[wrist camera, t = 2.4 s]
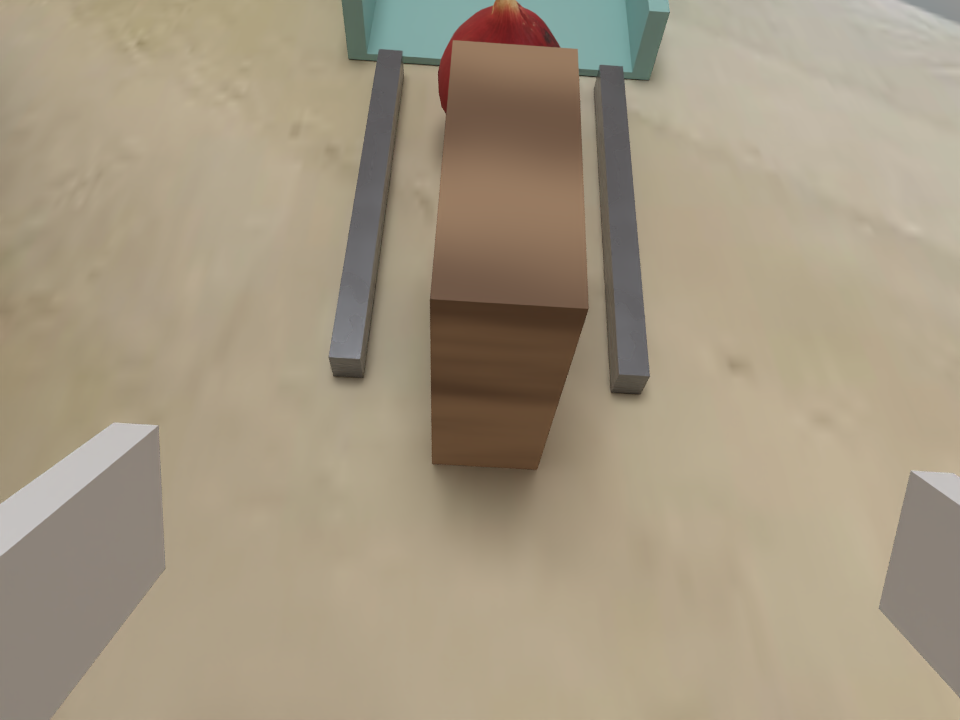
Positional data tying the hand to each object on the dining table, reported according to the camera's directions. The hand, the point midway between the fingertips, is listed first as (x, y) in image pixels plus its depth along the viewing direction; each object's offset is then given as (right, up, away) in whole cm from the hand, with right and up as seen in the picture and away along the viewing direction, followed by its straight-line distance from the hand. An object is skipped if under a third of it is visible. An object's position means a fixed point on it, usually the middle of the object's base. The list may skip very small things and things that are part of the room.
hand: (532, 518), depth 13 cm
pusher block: (-1, +3, +18) cm, 18 cm away
